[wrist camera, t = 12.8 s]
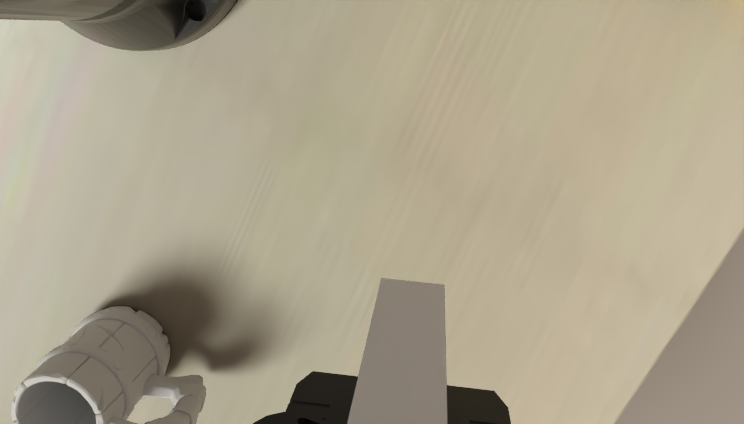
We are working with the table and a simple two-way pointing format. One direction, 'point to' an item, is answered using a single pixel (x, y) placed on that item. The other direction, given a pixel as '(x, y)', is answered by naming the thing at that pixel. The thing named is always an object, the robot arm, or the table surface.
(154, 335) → the mug
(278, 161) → the table surface
